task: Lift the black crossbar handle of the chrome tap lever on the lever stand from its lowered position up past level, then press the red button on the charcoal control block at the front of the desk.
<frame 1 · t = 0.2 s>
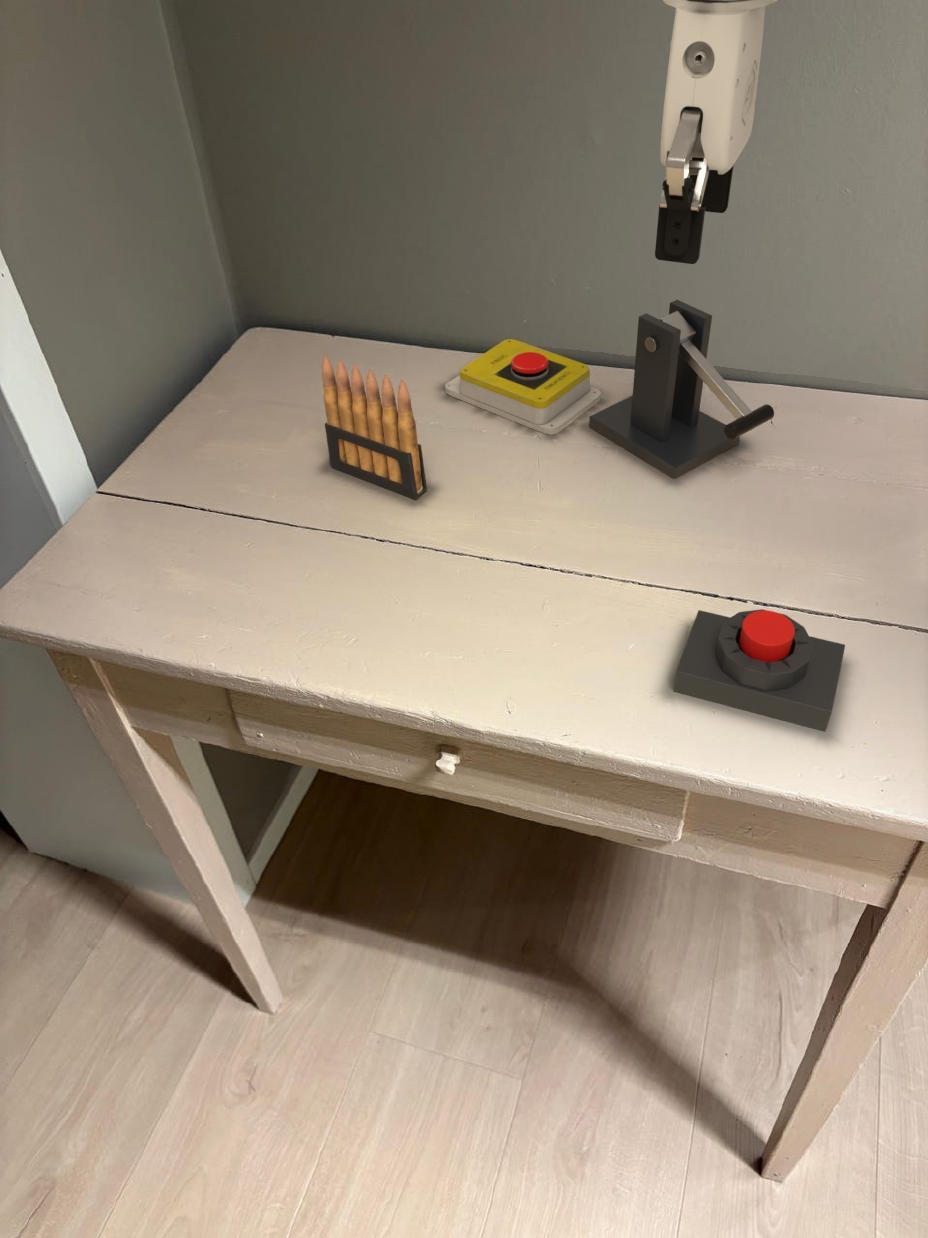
hand: (692, 234, 74), 24 cm above the table, tool pointing down, fingers open, 9 cm apart
button block: (756, 677, 72), on the table
tap lever: (708, 374, 87), point 9 cm above the table, hinge at -25.0°
red button: (766, 636, 69), point 4 cm above the table, slide at 0.1 cm
emergency button: (522, 396, 103), on the table
lever stand: (662, 435, 96), on the table
ammunition clip: (378, 480, 94), on the table
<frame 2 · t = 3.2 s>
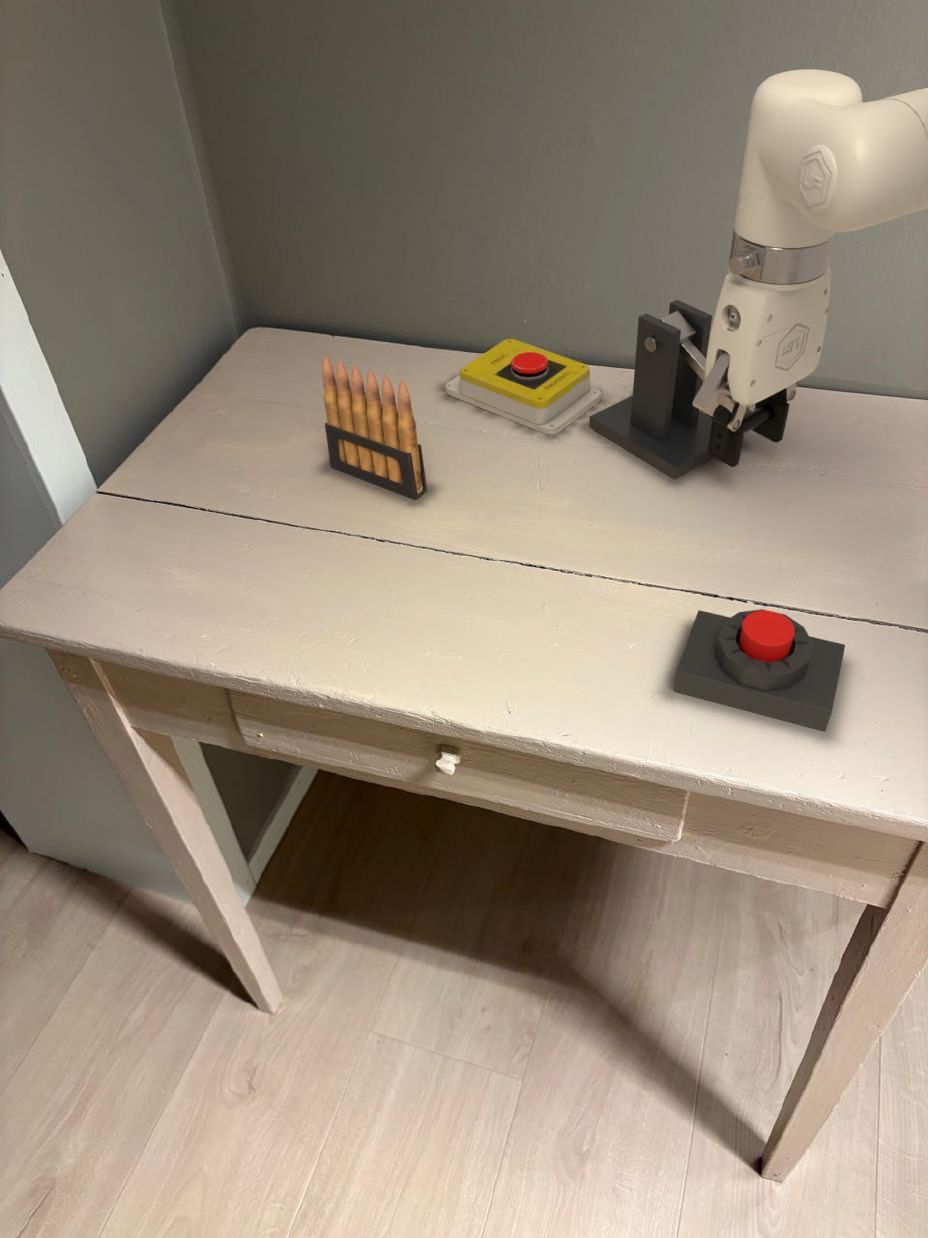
hand: (745, 445, 88), 4 cm above the table, tool pointing down, fingers closed on tap lever, 5 cm apart
tap lever: (708, 374, 87), point 9 cm above the table, hinge at -25.0°, touching gripper
everything else where it was.
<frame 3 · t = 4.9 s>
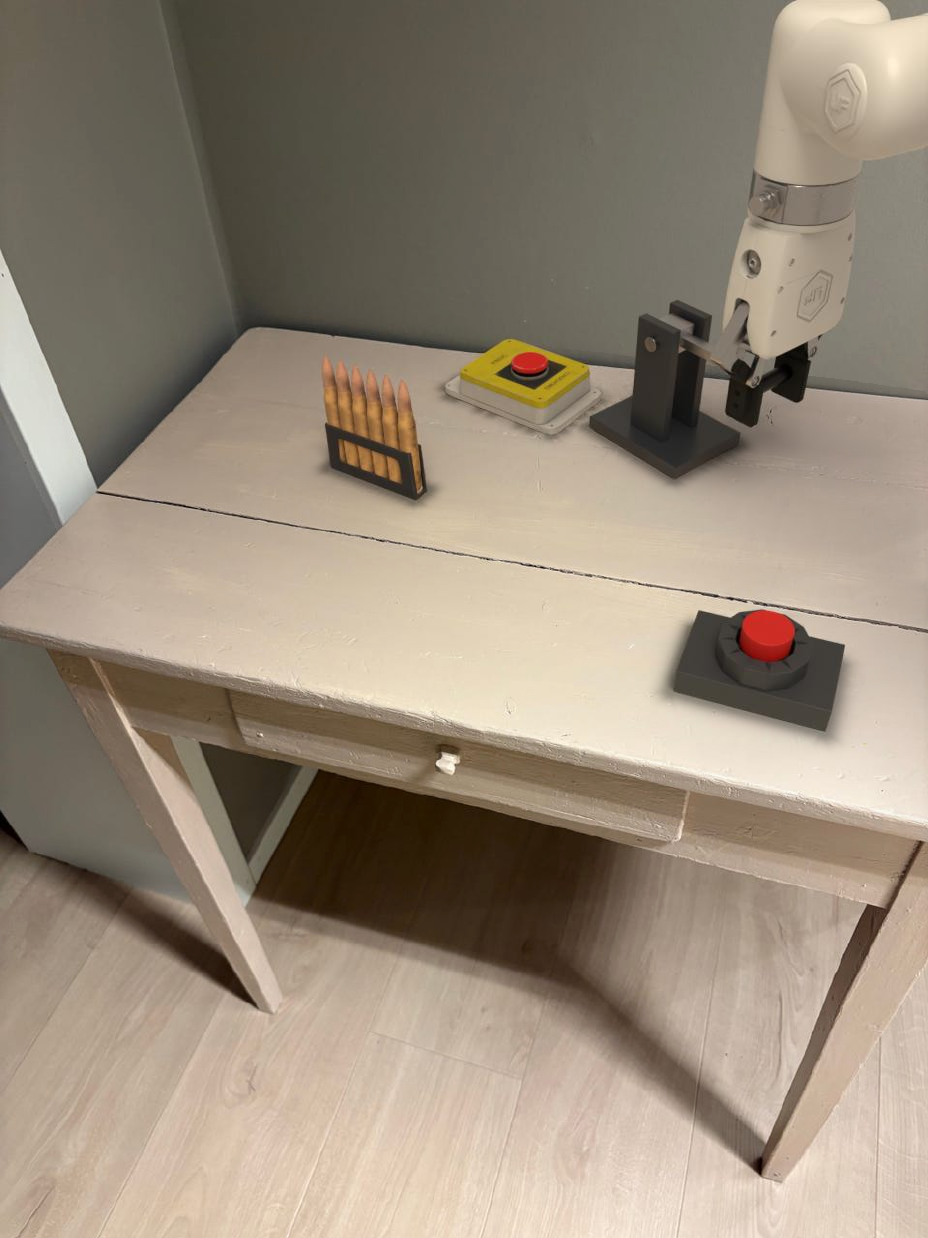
hand: (764, 406, 84), 8 cm above the table, tool pointing down, fingers closed on tap lever, 5 cm apart
tap lever: (715, 355, 86), point 11 cm above the table, hinge at -1.0°, touching gripper
everything else where it was.
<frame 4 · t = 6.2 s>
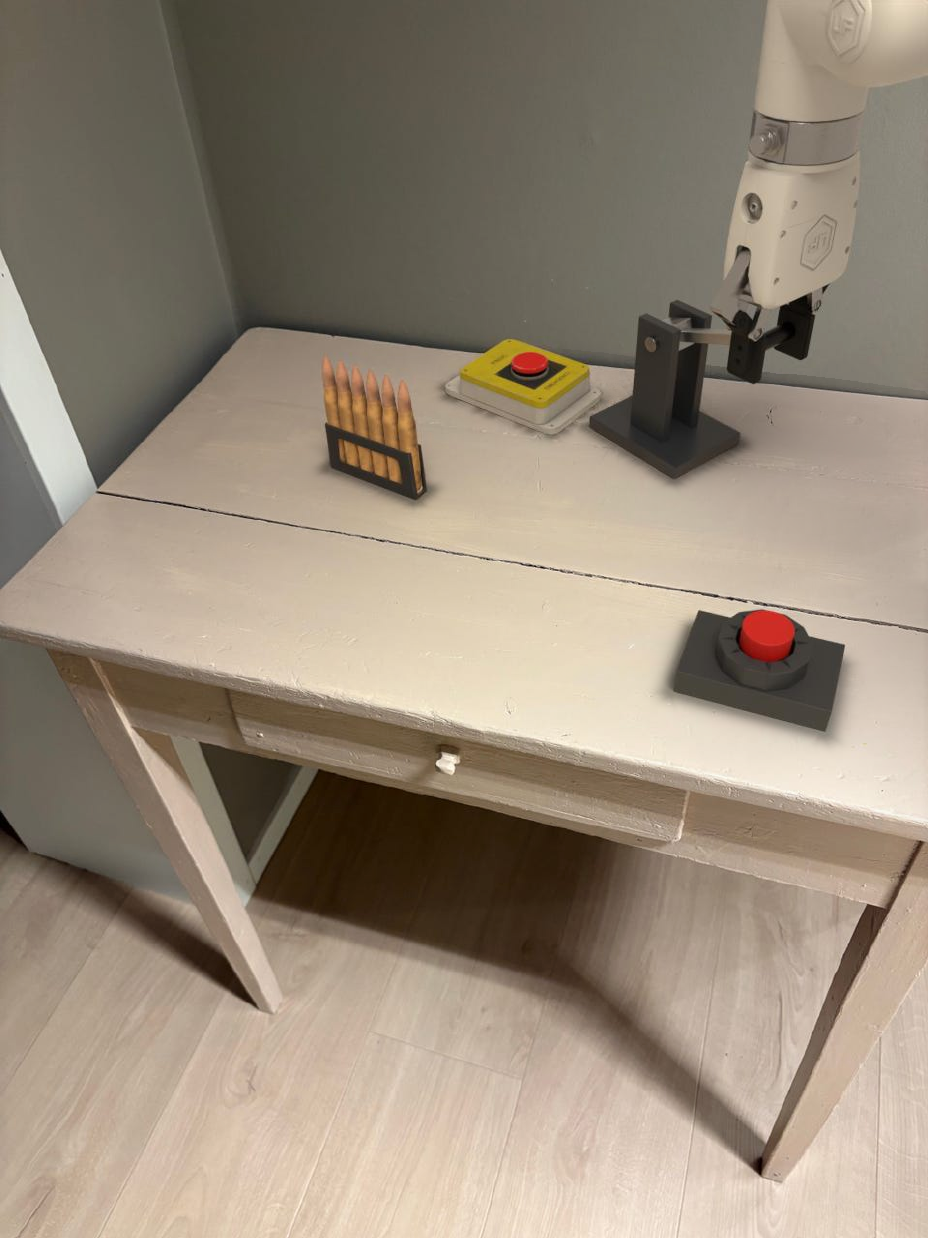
hand: (767, 363, 81), 12 cm above the table, tool pointing down, fingers closed on tap lever, 5 cm apart
tap lever: (715, 336, 84), point 13 cm above the table, hinge at 18.6°, touching gripper
everything else where it was.
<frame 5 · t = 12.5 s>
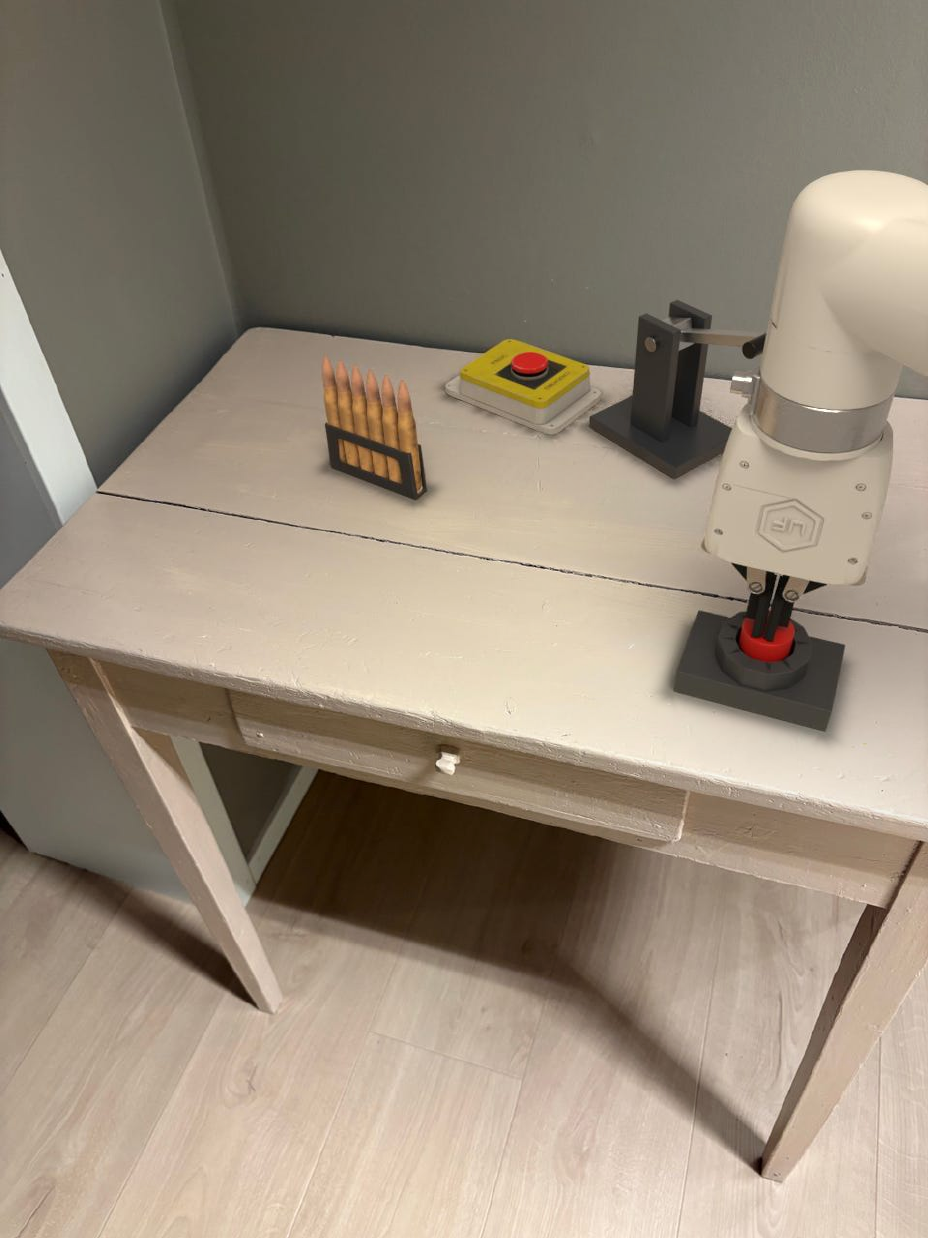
hand: (765, 626, 69), 5 cm above the table, tool pointing down, fingers closed
tap lever: (715, 336, 84), point 13 cm above the table, hinge at 18.1°
red button: (766, 636, 69), point 4 cm above the table, slide at 0.1 cm, touching gripper
everything else where it was.
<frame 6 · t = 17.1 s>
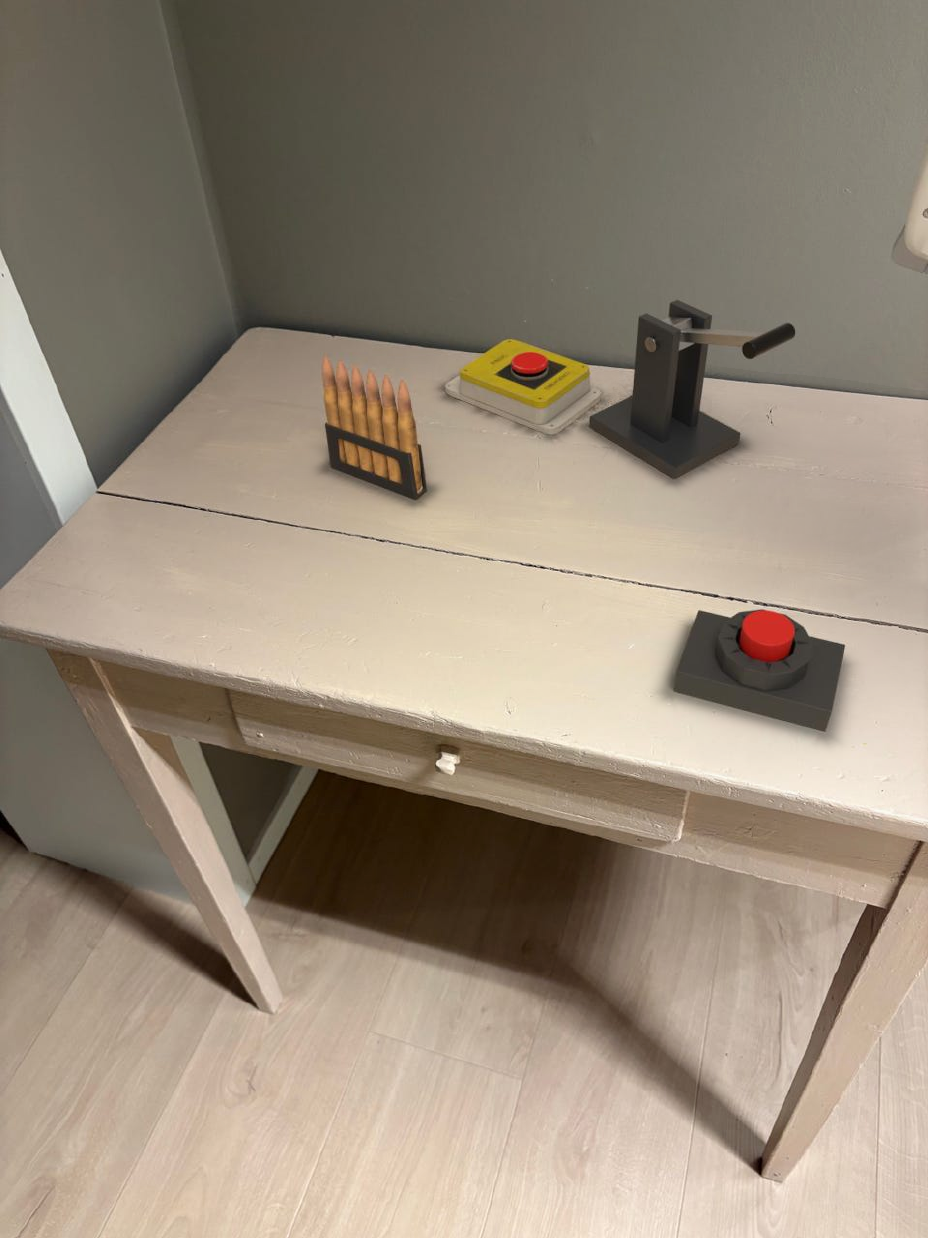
red button: (766, 636, 69), point 4 cm above the table, slide at 0.1 cm
everything else where it was.
at the end: tap lever at +18° (first picture: -25°); red button pushed in 1.1 cm at the most during the clip, back to where it started at the end; red button slide at 0.1 cm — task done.
